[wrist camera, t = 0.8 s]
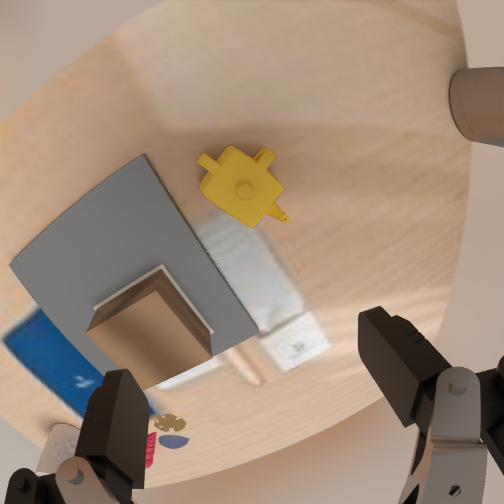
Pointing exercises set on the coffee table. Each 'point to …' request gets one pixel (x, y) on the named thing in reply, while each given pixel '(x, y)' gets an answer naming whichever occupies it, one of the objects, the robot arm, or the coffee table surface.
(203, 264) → the gray board
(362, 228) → the coffee table surface
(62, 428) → the white cup
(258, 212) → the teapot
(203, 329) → the base block
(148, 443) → the toy pieces
